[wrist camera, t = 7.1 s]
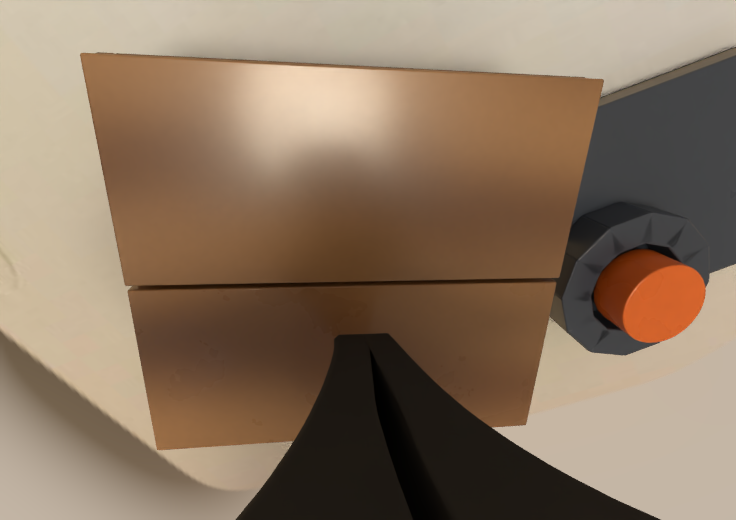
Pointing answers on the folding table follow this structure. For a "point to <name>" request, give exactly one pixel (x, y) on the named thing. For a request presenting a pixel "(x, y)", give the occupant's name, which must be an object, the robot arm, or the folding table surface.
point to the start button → (649, 295)
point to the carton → (335, 169)
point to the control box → (653, 190)
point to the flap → (327, 349)
